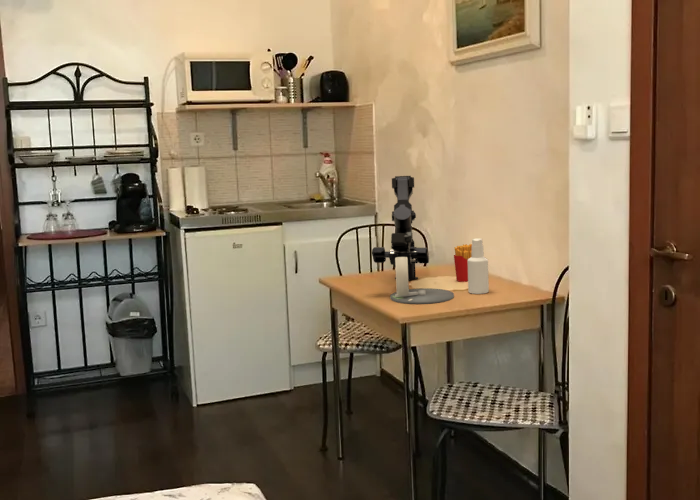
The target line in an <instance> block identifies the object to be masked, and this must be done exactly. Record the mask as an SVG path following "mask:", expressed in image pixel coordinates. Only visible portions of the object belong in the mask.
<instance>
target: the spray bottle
mask: <svg viewBox="0 0 700 500" xmlns="http://www.w3.org/2000/svg"><path fill="white" fill-rule="evenodd" d="M471 244H472V252H471V253H472V257H471V258H469V259H468V281H467V287H468V288H467V290H468V293H470V294H473V295H483V294H487V293H489V289H490V286H489V259H488V258H486V257H485V256H484V254H485V253H484V245H483V238H479V237H476V238H472V239H471Z"/></svg>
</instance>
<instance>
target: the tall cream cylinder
mask: <svg viewBox="0 0 700 500" xmlns="http://www.w3.org/2000/svg"><path fill="white" fill-rule="evenodd" d="M395 266H396V269H395V277H396V279H395V283H396V284H395V286H396V287H395V288H396V291H395V292H397V294H395V297H402V296H410V295H417V294H418V292H409V288H410V287H409V280H408V259H407V257H396V258H395Z"/></svg>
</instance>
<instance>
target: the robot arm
mask: <svg viewBox="0 0 700 500" xmlns="http://www.w3.org/2000/svg"><path fill="white" fill-rule="evenodd" d="M391 188H392V190H393V193H394V195H395V198H397V199H396V203H395V204H394V205H393V211H391V221H392V222H394V227H395V230H394V232H393V233H391V235H390V236H391V238H390V243H391V246H390V248H391V249H390V250H389V251H386V249H385V247H384V246H375V247H373V248H372V249H371V256H372V259H373V262H374V263H375V264H384V263H386V262H387V259H389V264H390V265H392V266H394V269H395V270H396V266H395V258H396V257H407V259H408V281H412V280H418V279H419V277H418V276H416V264H418V263H419V264H429V263H430V256H429V255H430V254H429V248H427V247H417V246H415V240H414V238H413V226H412V225H413V221H415V219H416V218H417V217H416V216H417V214H416V212H415V210H413V207H412V204H411V202H410V199H411V197H412V195H413V194H414V193H413V192H414V190H413V189H414V188H415V178H414V177H412V176H411V175H395V176H394V177H393V178H391ZM394 279H395V280H396V276H395V277H394Z"/></svg>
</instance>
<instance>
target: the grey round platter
mask: <svg viewBox="0 0 700 500" xmlns="http://www.w3.org/2000/svg"><path fill="white" fill-rule="evenodd" d="M409 292H418V294H417V295H410V296H402V297H395V294H397V291H395V292H393V293H391V294H390V300H391V301H392V302H394V303H398V304H399V303H400V304H405V305H406V304H407V305H431V304H440V303H445V302H448V301H450V300H453V299H454V298H455V293H454V292H453V291H450V290H447V289H442V288H429V287H428V288H425V287H424V288H423V287H422V288H410V289H409Z"/></svg>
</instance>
